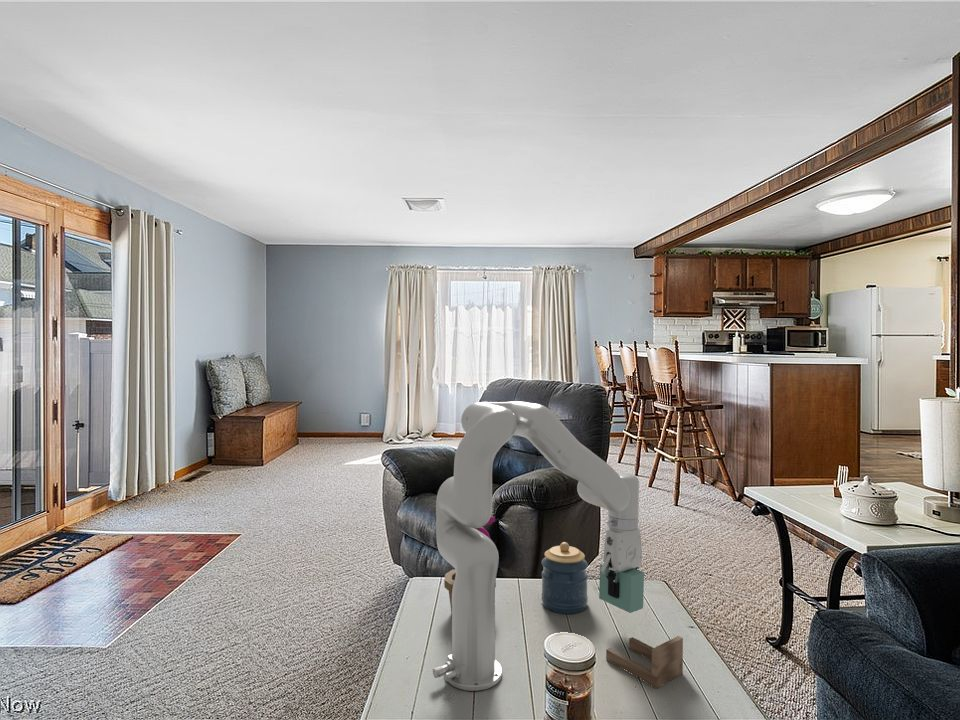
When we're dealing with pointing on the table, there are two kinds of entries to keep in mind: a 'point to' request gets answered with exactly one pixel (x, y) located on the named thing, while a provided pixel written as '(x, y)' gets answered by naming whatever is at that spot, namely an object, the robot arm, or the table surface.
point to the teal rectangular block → (625, 590)
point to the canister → (564, 579)
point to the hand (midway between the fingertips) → (620, 593)
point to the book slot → (663, 660)
